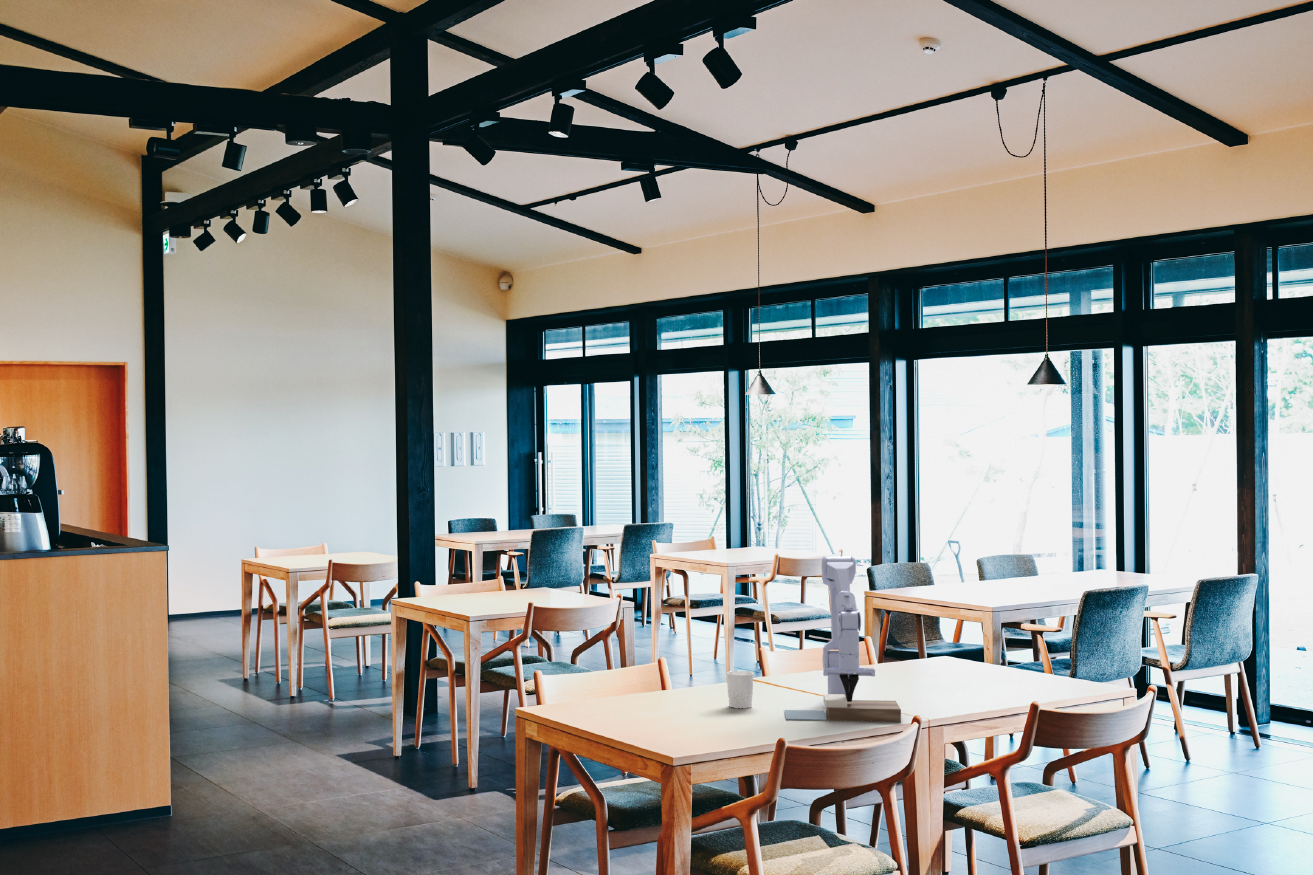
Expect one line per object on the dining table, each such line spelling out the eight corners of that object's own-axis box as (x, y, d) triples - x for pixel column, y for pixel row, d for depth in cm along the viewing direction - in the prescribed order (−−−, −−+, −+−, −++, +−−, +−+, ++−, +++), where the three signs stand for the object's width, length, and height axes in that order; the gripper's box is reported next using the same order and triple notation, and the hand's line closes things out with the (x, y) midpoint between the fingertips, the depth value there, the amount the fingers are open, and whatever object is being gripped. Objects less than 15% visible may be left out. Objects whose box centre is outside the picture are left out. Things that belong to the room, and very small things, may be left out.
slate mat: (784, 711, 340) (784, 709, 340) (824, 711, 339) (824, 710, 339) (785, 720, 328) (785, 718, 328) (827, 720, 327) (827, 719, 327)
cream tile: (823, 700, 337) (823, 693, 337) (844, 701, 337) (844, 694, 337) (825, 707, 328) (825, 700, 328) (847, 707, 328) (847, 700, 328)
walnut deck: (826, 711, 339) (826, 699, 339) (895, 712, 337) (895, 700, 337) (828, 720, 327) (828, 708, 327) (900, 721, 325) (900, 709, 325)
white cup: (738, 710, 341) (738, 676, 342) (721, 705, 348) (721, 672, 348) (759, 706, 346) (758, 673, 346) (741, 702, 352) (741, 669, 353)
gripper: (824, 655, 329) (824, 703, 329) (876, 655, 328) (876, 704, 328) (822, 651, 336) (822, 698, 336) (873, 651, 335) (873, 699, 335)
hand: (849, 701), depth 332 cm, fingers closed
